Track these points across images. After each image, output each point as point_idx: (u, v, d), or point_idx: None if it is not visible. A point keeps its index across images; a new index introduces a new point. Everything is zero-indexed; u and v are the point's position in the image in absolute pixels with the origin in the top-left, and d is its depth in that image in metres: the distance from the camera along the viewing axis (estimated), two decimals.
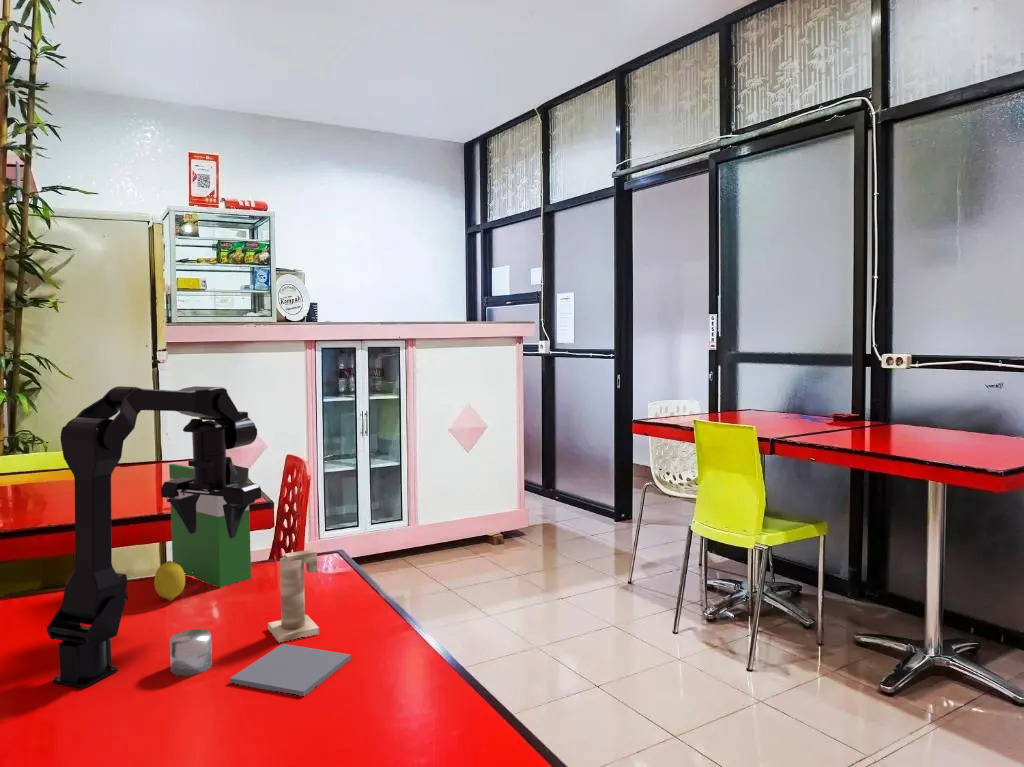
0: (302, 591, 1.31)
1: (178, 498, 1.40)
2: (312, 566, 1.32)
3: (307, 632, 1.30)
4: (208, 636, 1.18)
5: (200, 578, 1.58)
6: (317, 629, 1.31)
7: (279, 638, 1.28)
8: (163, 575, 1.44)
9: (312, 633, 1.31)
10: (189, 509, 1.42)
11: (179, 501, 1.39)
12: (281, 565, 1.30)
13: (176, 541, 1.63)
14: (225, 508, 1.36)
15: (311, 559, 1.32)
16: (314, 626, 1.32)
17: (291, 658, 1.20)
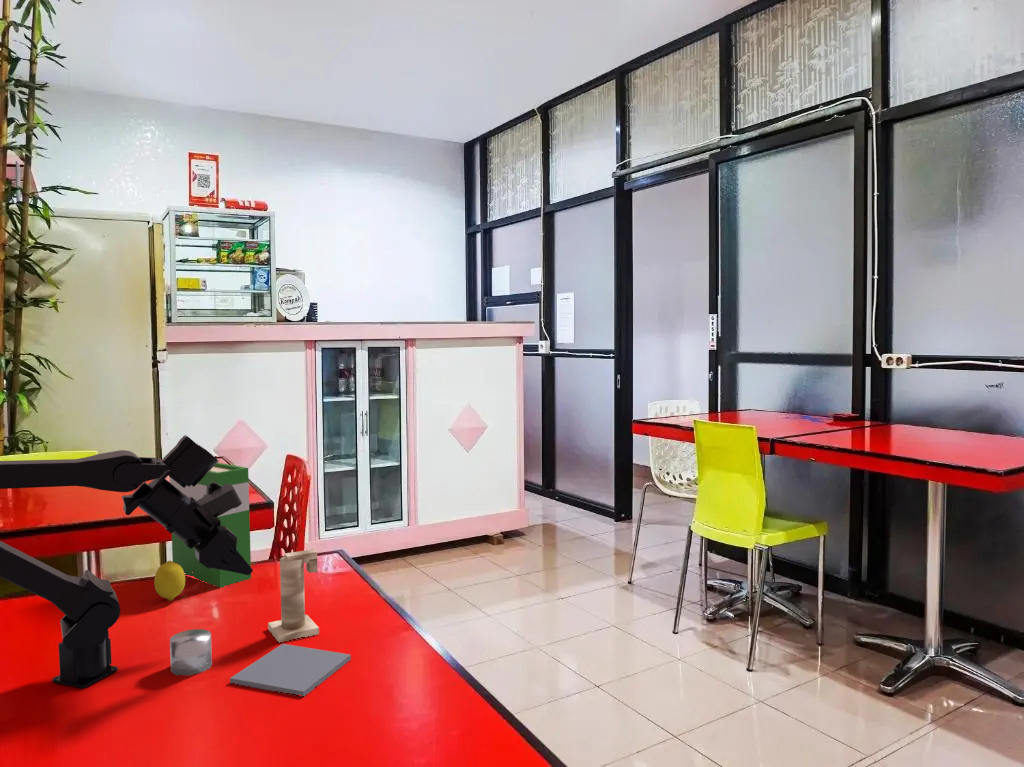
0: (302, 591, 1.31)
1: None
2: (312, 566, 1.32)
3: (307, 632, 1.30)
4: (208, 636, 1.18)
5: (200, 578, 1.58)
6: (317, 629, 1.31)
7: (279, 638, 1.28)
8: (163, 575, 1.44)
9: (312, 633, 1.31)
10: None
11: (197, 546, 1.28)
12: (281, 565, 1.30)
13: (176, 541, 1.63)
14: None
15: (311, 559, 1.32)
16: (314, 626, 1.32)
17: (291, 658, 1.20)
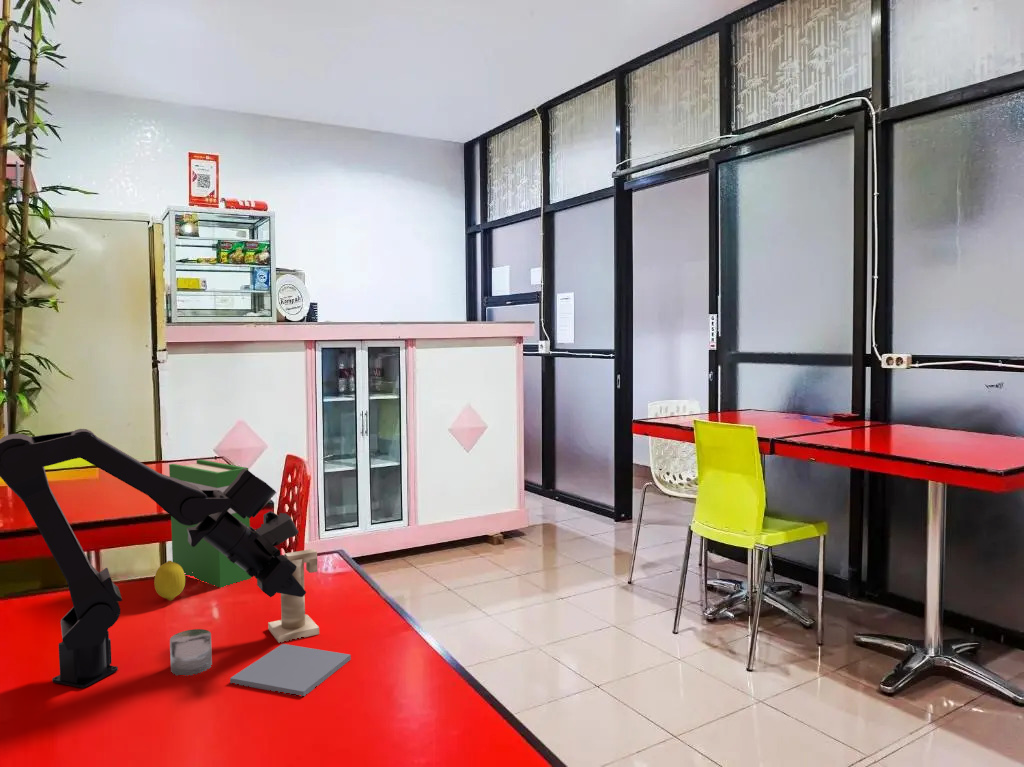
0: None
1: (257, 572, 1.32)
2: (312, 566, 1.32)
3: (307, 632, 1.30)
4: (208, 636, 1.18)
5: (200, 578, 1.58)
6: (317, 629, 1.31)
7: (279, 638, 1.28)
8: (164, 575, 1.44)
9: (312, 633, 1.31)
10: None
11: None
12: None
13: (176, 541, 1.63)
14: None
15: (311, 559, 1.32)
16: (314, 625, 1.32)
17: (291, 658, 1.20)
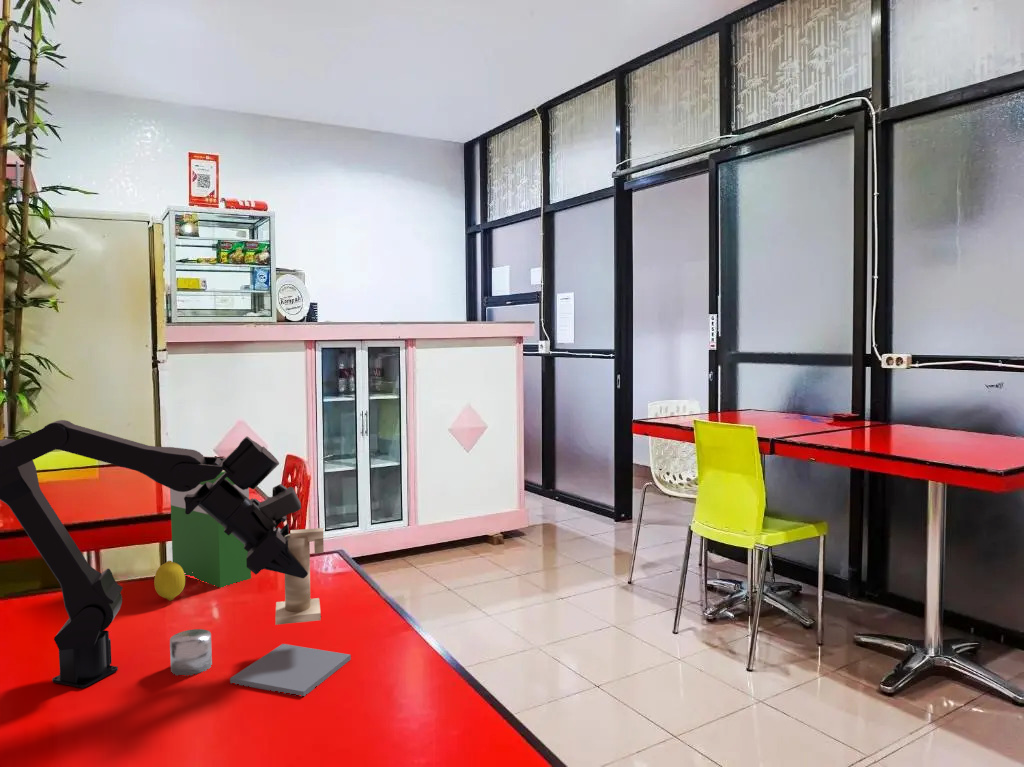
0: None
1: None
2: (318, 546, 1.23)
3: (307, 617, 1.21)
4: (208, 636, 1.18)
5: (200, 578, 1.58)
6: (318, 614, 1.21)
7: (276, 619, 1.19)
8: (163, 575, 1.44)
9: (312, 618, 1.21)
10: None
11: None
12: None
13: (176, 541, 1.63)
14: None
15: (317, 538, 1.23)
16: (317, 610, 1.22)
17: (291, 658, 1.20)
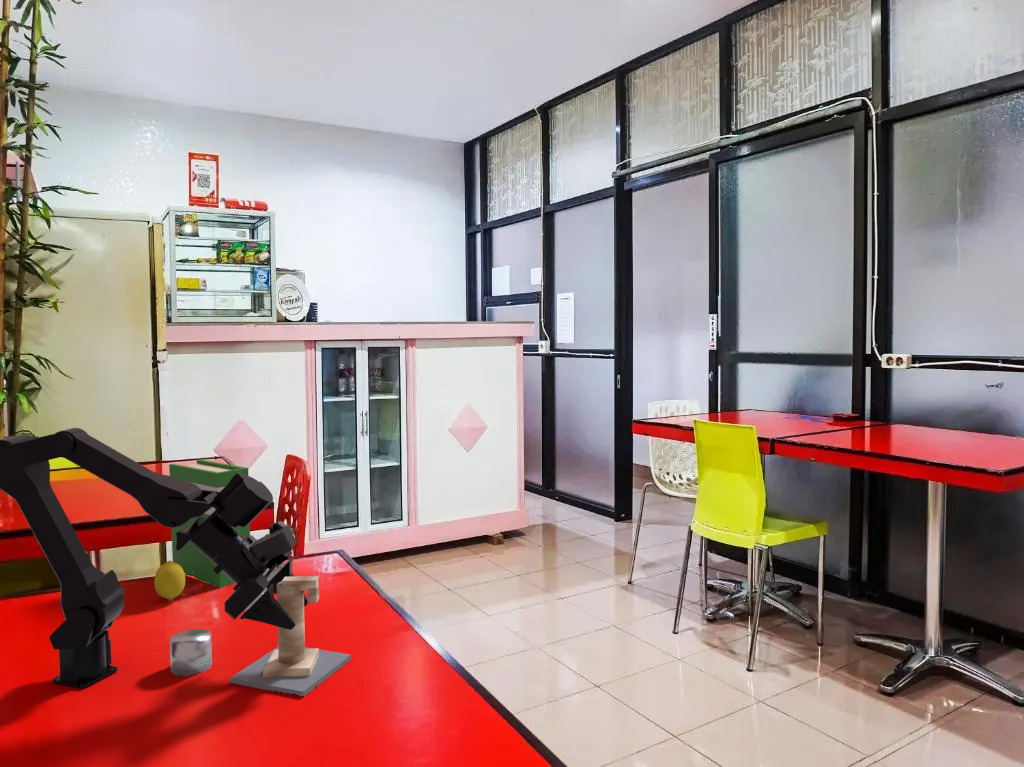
0: (297, 622, 1.15)
1: None
2: (310, 596, 1.15)
3: (296, 671, 1.14)
4: (208, 636, 1.18)
5: (200, 578, 1.58)
6: (308, 669, 1.14)
7: (264, 671, 1.13)
8: (164, 575, 1.44)
9: (301, 673, 1.14)
10: None
11: (266, 586, 1.21)
12: None
13: (176, 541, 1.63)
14: None
15: (309, 587, 1.15)
16: (308, 665, 1.15)
17: None
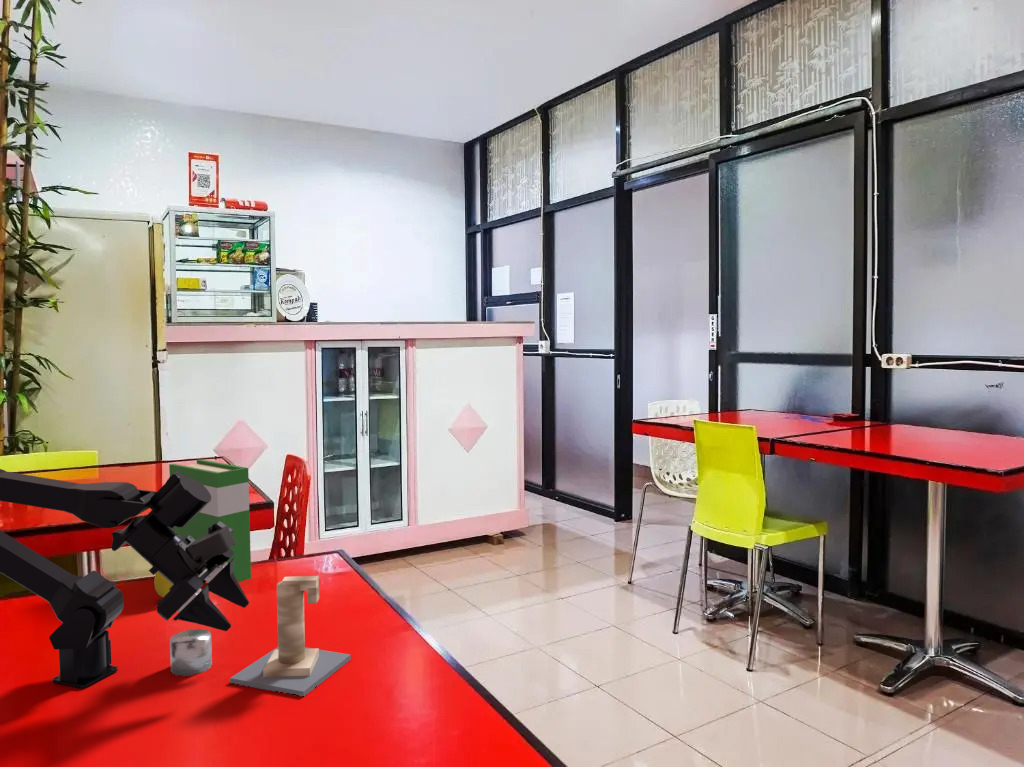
0: (297, 622, 1.15)
1: None
2: (310, 596, 1.15)
3: (296, 671, 1.14)
4: (208, 636, 1.18)
5: None
6: (308, 669, 1.14)
7: (264, 671, 1.13)
8: None
9: (301, 673, 1.14)
10: (224, 586, 1.20)
11: None
12: None
13: None
14: None
15: (309, 587, 1.15)
16: (308, 665, 1.15)
17: None
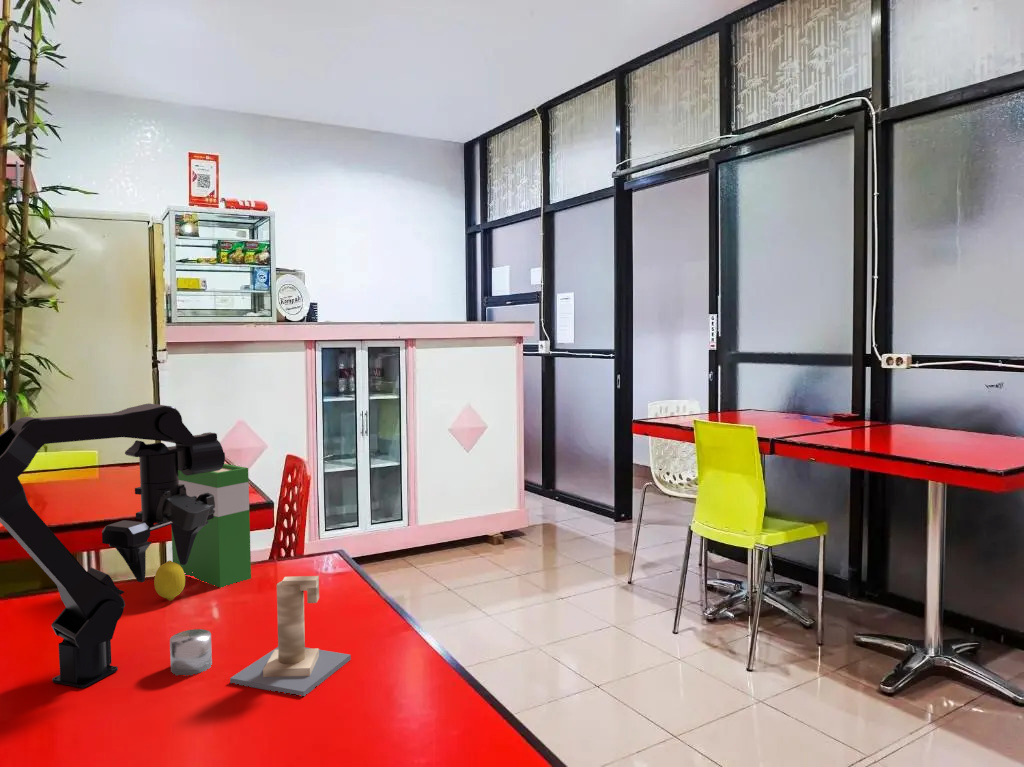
0: (297, 622, 1.15)
1: None
2: (310, 596, 1.15)
3: (296, 671, 1.14)
4: (208, 636, 1.18)
5: (200, 578, 1.58)
6: (308, 669, 1.14)
7: (264, 671, 1.13)
8: (164, 575, 1.44)
9: (301, 673, 1.14)
10: (181, 537, 1.29)
11: (172, 524, 1.29)
12: None
13: None
14: None
15: (309, 587, 1.15)
16: (308, 665, 1.15)
17: None
